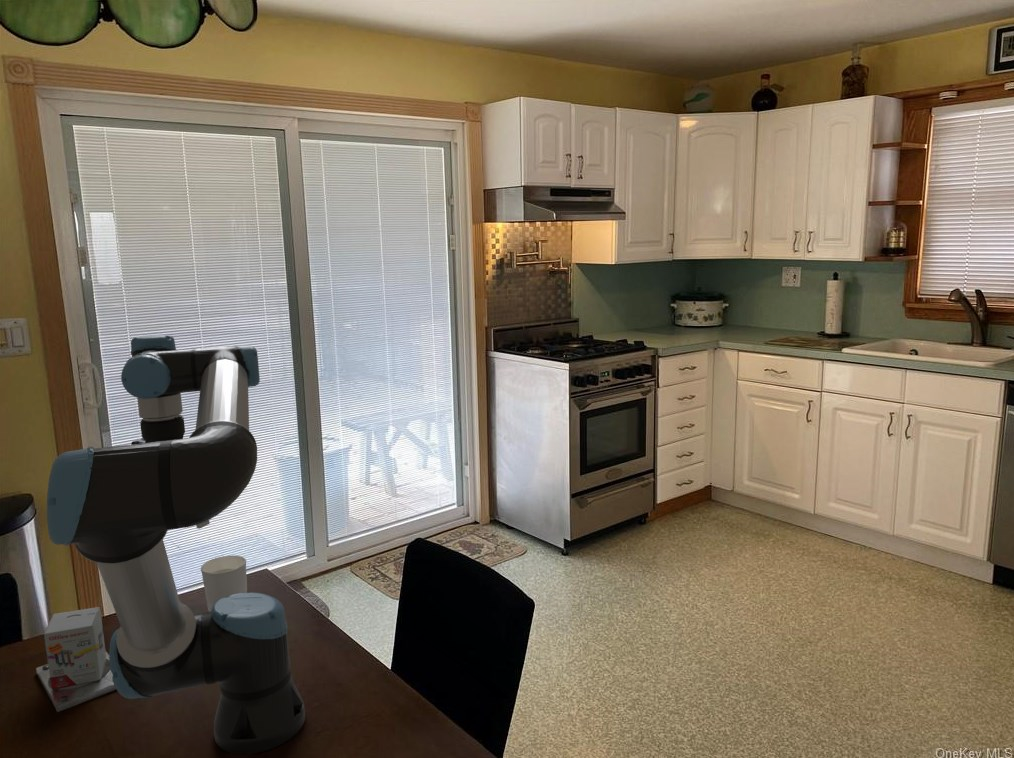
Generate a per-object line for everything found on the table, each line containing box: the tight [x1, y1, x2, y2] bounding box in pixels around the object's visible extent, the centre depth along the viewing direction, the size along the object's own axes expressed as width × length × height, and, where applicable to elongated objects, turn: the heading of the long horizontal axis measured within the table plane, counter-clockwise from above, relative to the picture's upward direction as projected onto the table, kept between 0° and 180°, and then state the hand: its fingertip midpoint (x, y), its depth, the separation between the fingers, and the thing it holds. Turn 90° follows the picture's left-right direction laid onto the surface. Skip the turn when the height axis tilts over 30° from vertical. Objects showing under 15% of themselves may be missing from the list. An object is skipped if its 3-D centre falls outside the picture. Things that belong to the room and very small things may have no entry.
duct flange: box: [35, 651, 117, 713], centre depth 145 cm, size 18×12×2 cm, turn 43°
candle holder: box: [200, 555, 248, 612], centre depth 170 cm, size 10×10×12 cm
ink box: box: [43, 606, 107, 690], centre depth 144 cm, size 9×9×12 cm
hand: (174, 523), depth 143 cm, fingers open, 13 cm apart
